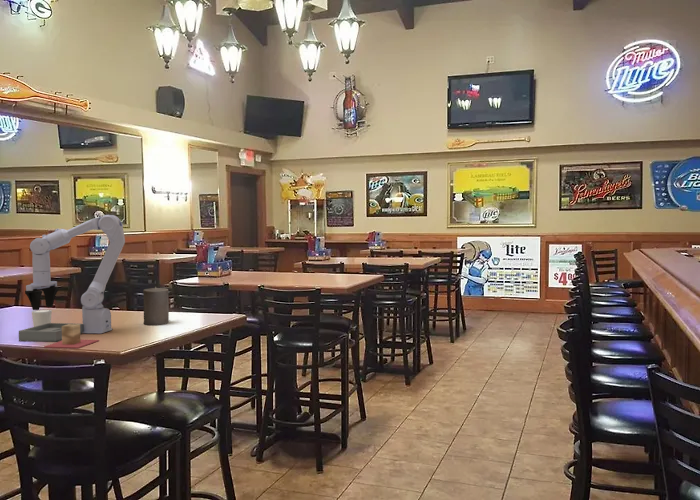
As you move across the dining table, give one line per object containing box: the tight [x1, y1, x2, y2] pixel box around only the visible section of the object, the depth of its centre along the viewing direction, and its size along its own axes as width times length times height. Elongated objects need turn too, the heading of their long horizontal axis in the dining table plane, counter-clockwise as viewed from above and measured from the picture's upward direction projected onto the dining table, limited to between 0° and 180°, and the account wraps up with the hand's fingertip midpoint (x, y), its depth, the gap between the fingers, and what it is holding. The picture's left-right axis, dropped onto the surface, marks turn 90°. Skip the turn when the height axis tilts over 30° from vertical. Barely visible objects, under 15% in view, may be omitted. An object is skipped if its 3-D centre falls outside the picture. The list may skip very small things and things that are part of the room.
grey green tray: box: [18, 322, 84, 343], centre depth 213 cm, size 14×16×4 cm
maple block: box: [61, 323, 82, 344], centre depth 200 cm, size 4×4×6 cm
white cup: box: [31, 309, 53, 327], centre depth 229 cm, size 7×7×7 cm
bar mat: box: [43, 339, 100, 349], centre depth 200 cm, size 12×12×1 cm
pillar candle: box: [142, 286, 170, 326], centre depth 240 cm, size 10×10×15 cm
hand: (42, 308), depth 218 cm, fingers open, 7 cm apart
